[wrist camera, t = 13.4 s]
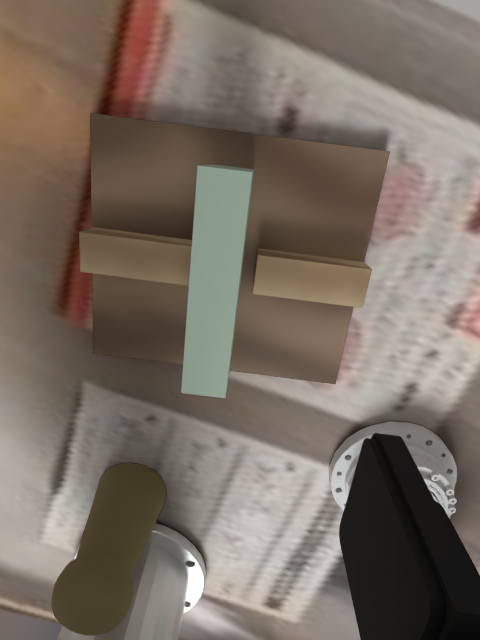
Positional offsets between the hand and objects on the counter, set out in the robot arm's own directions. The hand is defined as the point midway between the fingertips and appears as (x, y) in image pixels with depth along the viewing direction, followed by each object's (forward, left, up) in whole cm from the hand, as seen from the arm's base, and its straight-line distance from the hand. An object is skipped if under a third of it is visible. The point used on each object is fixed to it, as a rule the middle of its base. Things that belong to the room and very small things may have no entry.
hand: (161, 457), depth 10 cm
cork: (-21, +6, -20) cm, 30 cm away
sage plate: (0, 0, -19) cm, 19 cm away
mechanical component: (-16, -15, -21) cm, 30 cm away
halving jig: (0, 0, -20) cm, 20 cm away
